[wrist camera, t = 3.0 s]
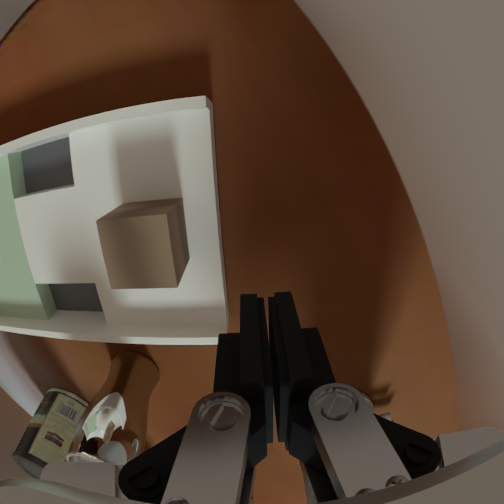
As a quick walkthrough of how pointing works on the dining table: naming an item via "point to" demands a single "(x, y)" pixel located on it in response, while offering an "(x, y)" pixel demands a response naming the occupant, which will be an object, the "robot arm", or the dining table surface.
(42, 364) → the dining table surface
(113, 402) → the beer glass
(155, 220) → the walnut block
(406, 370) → the dining table surface
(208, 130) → the box
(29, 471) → the coffee can
